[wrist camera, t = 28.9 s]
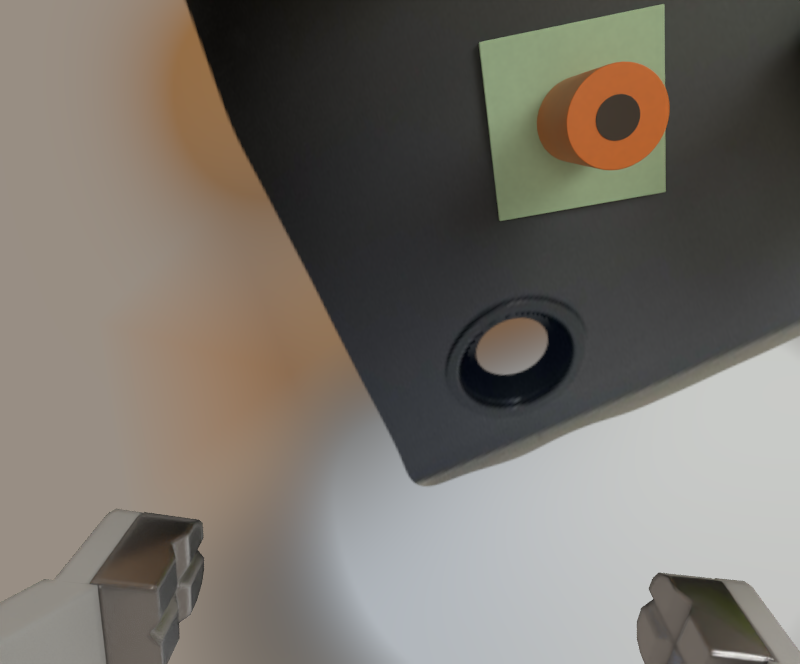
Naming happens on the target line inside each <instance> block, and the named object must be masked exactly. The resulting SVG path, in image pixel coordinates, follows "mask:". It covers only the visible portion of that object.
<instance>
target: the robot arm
mask: <svg viewBox="0 0 800 664" xmlns="http://www.w3.org/2000/svg"><path fill="white" fill-rule="evenodd" d="M202 539H203V523H202V522H201V521H200V520H196V519H189V518H182V517H175V516H168V515H161V514H154V513H146V512H144V513H141V512H134V511H128V510H120V509H115V510H113V511H112V512H109V513H108V514H107V515H106V516H105V517H104V519H103V520H102V521H101V522H100V524H99V525H98V526H97V527H96V529H95V530H94V531H93V532H92V533H91V535H90V536H89V537H88V538H87V540H86V541H85V542H84V543H83V544H82V546H81V547H80V548H79V549H78V551H77V552H76V553H75V554H74V556H73V557H72V558H71V559H70V560H69V562H68V563H67V564H66V565H65V567H64V568H63V569H62V570H61V572H60V573H59V574H58V575H57V576H56V578H55V579H54V580H47V579H44V580H42V581H40V582H38V583H36V584H34V585H33V586H31V587H29V588H27V589H25V590H23V591H21V592H19V593H17V594H15V595H14V596H12V597H10V598H8V599H6V600H4V601H2V602H0V664H167V663H168V661H169V659H170V657H171V655H172V653H173V651H174V648H175V646H176V644H177V642H178V640H179V623H180V622H181V621H182V620H184V619H185V618H187V617H188V616H189V615H190V614H191V612H192V610H193V608H194V606H195V603H196V601H197V598H198V595H199V591H200V588H201V584H202V579H203V572H204V557H203V556H202V555H201V554H200V552H199V551H198V550H197V549H198V547H199V545H200V543H201V541H202ZM649 590H650V593H651V595H652V597H653V600H652V601H650V602H649V603H648V604H646V605H645V606H643V607H642V608H641V611H640V614H639V617H638V620H637V641H638V645H639V649H640V653H641V656H642V658H643V661H644V663H645V664H800V651H799V650H798V649H797V647H796V646H795V644H794V643H793V642H792V640H791V639H790V638H789V636H788V635H787V634H786V632H785V631H784V629H783V628H782V627H781V625H780V624H779V623H778V621H777V620H776V619H775V617H774V616H773V615H772V613H771V612H770V610H769V609H768V608H767V607H766V605H765V604H764V602H763V601H762V600H761V598H760V597H759V595H758V594H757V593H756V592H755V590H754V589H753V588H752V587H751V586H750V585H749V584H747V583H746V582H744V581H737V580H727V579H717V578H715V579H712V578H704V577H695V576H686V575H676V574H667V573H666V574H665V573H658V574H657V575H656V576H655V577H654V578H653V579H652V582H651V584H650V587H649Z"/></svg>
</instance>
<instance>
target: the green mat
mask: <svg viewBox="0 0 800 664" xmlns="http://www.w3.org/2000/svg"><path fill="white" fill-rule="evenodd" d="M479 52H480V61H481V69H482V78H483V87H484V95H485V104H486V113H487V121H488V130H489V138H490V147H491V156H492V164H493V173H494V181H495V190H496V199H497V207H498V216H499V221H504V220H509V219H515V218H521V217H526V216H532V215H538V214H543V213H549V212H555V211H560V210H566V209H572V208H578V207H583V206H589V205H595V204H600V203H606V202H612V201H617V200H623V199H629V198H634V197H640V196H646V195H651V194H657V193H663V192H666V169H665V132H664V134H663V136H662V138H661V140H660V141H659V143H658V144H657V146H656V147H655V148H654V149H653V150H652V152H651V153H650V154H649V155H647V156H646V157H645V158H644V159H642V160H641V161H640V162H638V163H636V164H634V165H632V166H630V167H627V168H624V169H620V170H602V169H597V168H592V167H588V166H583V165H579V164H574V163H570V162H565V161H562V160H559V159H557V158H555V157H553V156H552V155H551V154H550V153H548V152H547V150H546V149H545V148H544V147H543V145H542V143H541V141H540V139H539V136H538V131H537V116H538V112H539V109H540V106H541V104H542V102H543V100H544V98H545V96H546V95H547V94H548V92H549V91H550V90H551V89H552V88H553V87H554V86H555V85H557V84H558V83H560V82H561V81H563V80H565V79H567V78H570V77H573V76H576V75H579V74H581V73H584V72H587V71H590V70H593V69H596V68H599V67H602V66H605V65H608V64H611V63H615V62H622V61H623V62H635V63H639V64H642V65H644V66H646V67H648V68H649V69H651V70H652V71H653V72H655V73H656V74H657V75H658V77H659V78H660V79H661V81H662V82H663V84H664V86H665V29H664V4H661V5H656V6H651V7H647V8H642V9H637V10H632V11H627V12H623V13H618V14H613V15H608V16H603V17H599V18H594V19H589V20H584V21H579V22H575V23H570V24H565V25H560V26H555V27H550V28H546V29H541V30H536V31H531V32H526V33H522V34H517V35H512V36H507V37H502V38H498V39H493V40H488V41H483V42H479Z"/></svg>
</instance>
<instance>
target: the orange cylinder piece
mask: <svg viewBox="0 0 800 664" xmlns="http://www.w3.org/2000/svg"><path fill="white" fill-rule="evenodd" d="M668 118H669V98H668V94H667V91H666V88H665V86H664V84H663V82H662V81H661V79H660V78H659V77H658V75H657V74H656V73H655V72H653V71H652V70H651V69H649V68H648V67H646V66H644V65H642V64H639V63H635V62H623V61H622V62H615V63H611V64H608V65H605V66H602V67H599V68H596V69H593V70H590V71H587V72H584V73H581V74H579V75H576V76H573V77H570V78H567V79H565V80H563V81H561V82H560V83H558V84H557V85H555V86H554V87H553V88H552V89H551V90H550V91H549V92H548V94H547V95H546V96H545V98H544V100H543V102H542V104H541V106H540V109H539V112H538V116H537V131H538V136H539V139H540V141H541V143H542V145H543V147H544V148H545V149H546V150H547V152H548V153H550V154H551V155H552V156H553V157H555V158H557V159H559V160H562V161H565V162H570V163H574V164H579V165H583V166H588V167H592V168H597V169H602V170H620V169H624V168H627V167H630V166H632V165H634V164H636V163H638V162H640V161H641V160H642V159H644V158H645V157H646V156H647V155H649V154H650V153H651V152H652V150H653V149H654V148H655V147H656V146H657V144H658V143H659V141H660V140H661V138H662V136H663V134H664V132H665V129H666V126H667V123H668Z"/></svg>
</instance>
